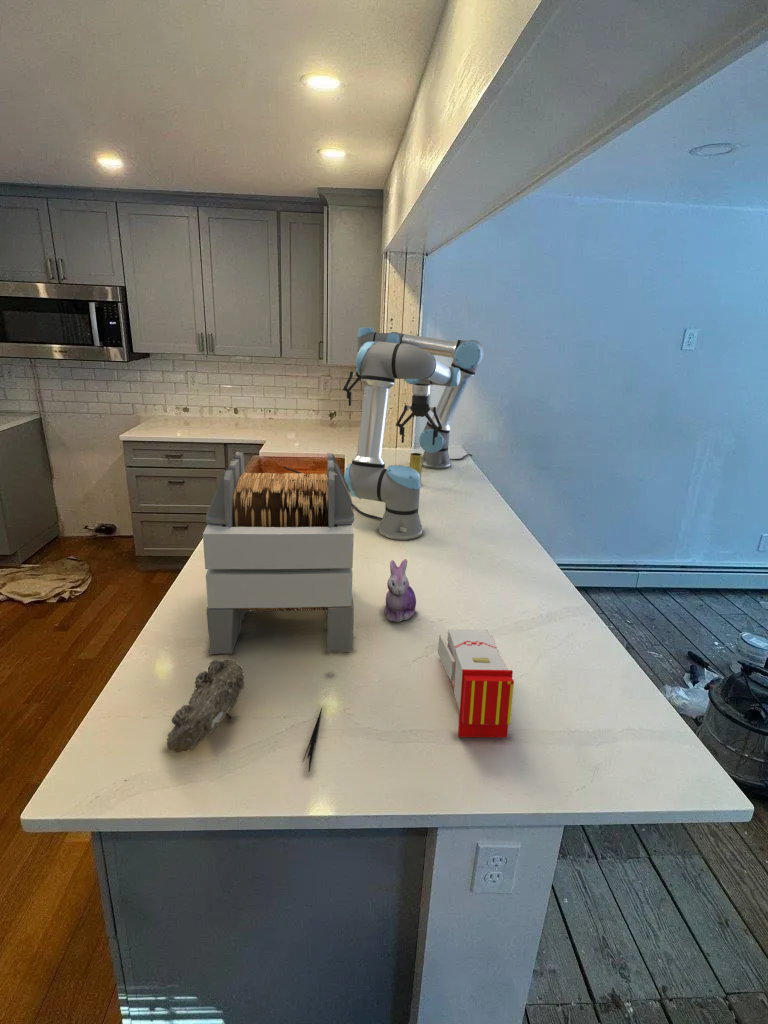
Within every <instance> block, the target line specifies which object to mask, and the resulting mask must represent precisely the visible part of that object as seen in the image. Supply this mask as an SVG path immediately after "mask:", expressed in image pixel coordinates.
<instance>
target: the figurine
mask: <svg viewBox="0 0 768 1024" xmlns="http://www.w3.org/2000/svg"><path fill="white" fill-rule="evenodd" d="M407 567H408V559H406V558H404V559H403V560H402V561H401V563H400V565H399V566H398V565H397V563H396V562H395V561H394V560H393V559H391V560H390V561H389V570H390V576H389V578H388V579H387V589H388V591H387V592H386V594H385V595H386V596H385V607H384V615H385V616H386V620H387V621H391V622H395V623H400V622H402V621H406V620H409V619H410V618H411V617H413V616H414V615H415V610H416V606H417V597H416V593H415V591H414V590H413V587H411V586H410V582H409V579H408V577H407V574H406V571H407Z"/></svg>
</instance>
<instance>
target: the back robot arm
mask: <svg viewBox="0 0 768 1024" xmlns="http://www.w3.org/2000/svg"><path fill="white" fill-rule="evenodd" d="M376 341H379V342H390V343H401V344H402V343H404V344H410V345H413V346H416V347H419V348H421V349H423V350H425V351H427V352H429V353H431V354H432V355H433V356H438V357H444V358H451V359H452V362H451V364H450V367H455V368H459V369H460V382H459V384H458V386H456V387H449V386H444V390H443V392H442V393H441V396H440V399H439V401H438V404H437V406H436V412H437V414H438V417H439V419H440V422H441V424H442V429H439V430H438V436H437V437H435V444H434V445H432V444H433V430H434V429H435V428H434V427H433V426H432V424H431V423H430V422H429V420H428V419H427V421H426V424H425V426H424V428H423V431H422V432H421V433H420V435H419V439H418V441H419V446H420V448H421V449H422V450H423V453H422V468H423V467H424V468H426V469H433V470H444V469H449V468H450V467H451V461H462V460H464V458H466V457H468V456H470V457H473V455H472V454H471V453H467V454H465V455H463V456H462V457H461V458H450V454H449V443H450V432H451V421H452V420H453V417H454V415H455V413H456V410H457V408H458V405H459V403H460V401H461V399H462V396H463V394H464V391H465V389H466V387H467V386H468V382H469V381H470V379H471V377H474V376H475V375H476V372H477V370H478V368H479V365H480V364H481V362H482V361H483V359H484V357H485V348H484V346H483V344H482V343H481V342H479V341H477V340H474V339H470V340H469V339H468V340H467V339H466V340H465V339H456V340H455V341H454V340H448V339H440V338H434V337H427V336H421V335H414V334H409V333H400V332H397V331H392V332H376V331H375V329H374V327H367V326H366V327H365V326H363V327H362V326H361V327H359V328H358V330H357V354H356V356H357V355H358V352H359V350H360V348H361V347H362V345H363V344H365V343H366V342H376ZM355 376H356V379H355V380H354V381H353V383H351V381H352V379H353V377H355ZM359 381H360V382H361V383H362V381H361V376H360V375H359V374H358V373H357V371H353V370H351V371H350V372H349V377H348V379H347V380H346V382H345V384H344V386H343V388H342V390H343V391H345V392H346V399H348V407H351V406H352V390H353V388H354V387H355V386H356V385H357V384H358V383H359ZM350 384H351V385H350ZM431 418H432V420H433V421H434V422H435V424H436V425H437V426H438V423H437V421H436V419H435V416H434V414H433V415H432V417H431Z"/></svg>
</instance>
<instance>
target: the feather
mask: <svg viewBox="0 0 768 1024" xmlns="http://www.w3.org/2000/svg"><path fill="white" fill-rule="evenodd" d="M329 675H330V676H331V675H332V674H331V673H330V674H329ZM322 710H323V707H321V708H320V710H319V713H318V716H317V719H316V723H315V725H314V728H313V731H312V733H311V737H310V739H309V742H308V745H307V748H306V751H305V754H304V757H303V760H302V763H301V767H302V765H303V763H304V761H305V758H308V759H309V760H308V762H307V763H308V764H307V766H308V771H310V770H311V766H312V765H311V764H312V760H313V757H315V756H314V755H315V751H316V749H315V746H317V739H318V733H319V729H320V722H321V717H322V712H323V711H322ZM313 754H314V755H313ZM306 755H307V757H306Z"/></svg>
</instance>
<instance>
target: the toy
mask: <svg viewBox="0 0 768 1024" xmlns="http://www.w3.org/2000/svg"><path fill="white" fill-rule="evenodd" d="M446 640H447V643H446V641H445V639H444V636H443V635H442V634H439V637H438V646H437V656H438V657H439V659H440V661H441V663H442V666H443V668H444V670H445V672H446V674H447V677H448V679H449V681H450V684H451V687H452V690H453V693H454V697H455V701H456V705H457V708H458V711H459V714H458V715H459V716H458V730H457V731H458V732H457V737H458V738H508V731H509V726H510V725H511V717H512V707H513V697H514V696H513V695H514V684H515V680H514V679H513V673H514V671H513V670H512V669H508V667H507V665H506V662H505V661H504V659H503V658H502V655H501V653H500V651H499V649H498V647H497V643H496V639H495V637H494V635H493V634H491V632H490V631H489V629H467V628H466V629H465V628H463V629H461V628H460V629H459V628H448V630H447V639H446Z"/></svg>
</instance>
